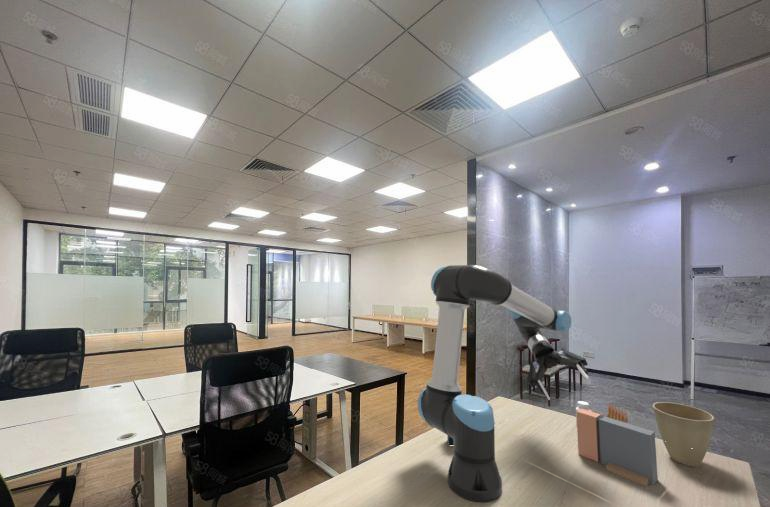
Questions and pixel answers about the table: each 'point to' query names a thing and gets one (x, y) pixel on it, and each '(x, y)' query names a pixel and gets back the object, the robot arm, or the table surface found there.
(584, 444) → the stub
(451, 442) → the watch
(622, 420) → the ammunition clip
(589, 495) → the table surface
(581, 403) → the supplement bottle
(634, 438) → the ticket block
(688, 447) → the plant pot
